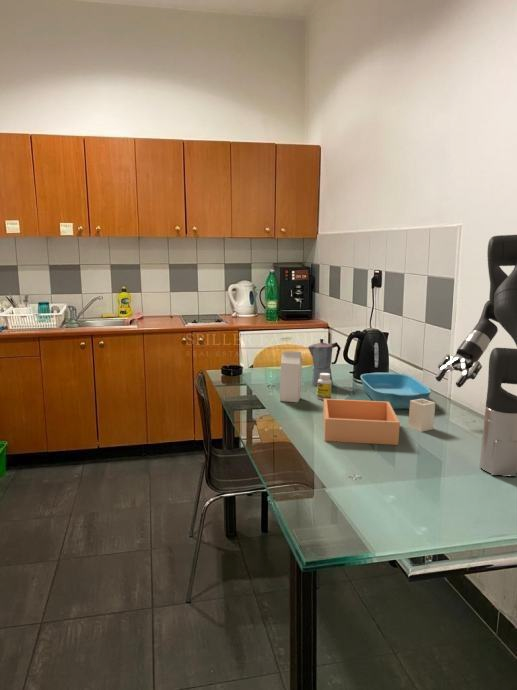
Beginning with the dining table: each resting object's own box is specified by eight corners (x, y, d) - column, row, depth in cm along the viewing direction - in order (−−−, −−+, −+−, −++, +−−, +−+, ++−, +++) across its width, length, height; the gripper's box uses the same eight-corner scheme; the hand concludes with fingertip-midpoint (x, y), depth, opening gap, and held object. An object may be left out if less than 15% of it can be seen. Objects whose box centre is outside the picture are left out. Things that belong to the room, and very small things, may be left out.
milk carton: (298, 402, 202) (300, 353, 198) (279, 401, 203) (281, 352, 200) (300, 397, 209) (302, 350, 205) (282, 396, 210) (284, 349, 206)
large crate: (398, 444, 161) (399, 422, 159) (324, 440, 163) (325, 418, 161) (387, 421, 182) (389, 401, 181) (322, 418, 184) (323, 398, 183)
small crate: (420, 424, 180) (422, 398, 179) (433, 429, 175) (435, 402, 174) (408, 426, 177) (410, 400, 176) (420, 431, 173) (423, 405, 171)
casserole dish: (354, 386, 228) (355, 370, 226) (406, 387, 229) (407, 371, 227) (376, 413, 192) (377, 394, 190) (437, 414, 192) (439, 395, 191)
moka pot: (301, 383, 230) (303, 337, 227) (331, 380, 237) (333, 336, 233) (312, 389, 222) (314, 341, 218) (344, 385, 228) (346, 339, 224)
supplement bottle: (314, 398, 207) (315, 374, 206) (319, 395, 212) (321, 371, 210) (328, 401, 205) (329, 376, 203) (332, 397, 210) (334, 373, 208)
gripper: (452, 336, 187) (426, 371, 184) (487, 343, 175) (459, 380, 171) (461, 350, 191) (435, 384, 187) (495, 357, 178) (469, 394, 175)
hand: (447, 382), depth 179 cm, fingers open, 8 cm apart
